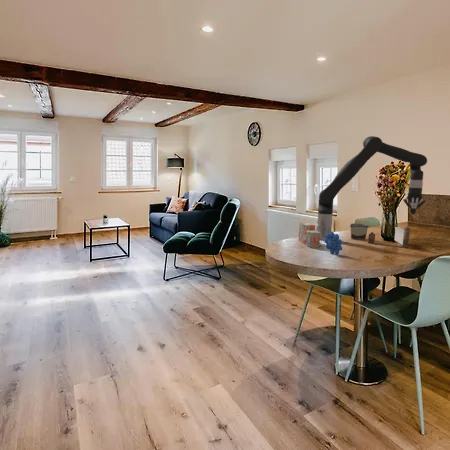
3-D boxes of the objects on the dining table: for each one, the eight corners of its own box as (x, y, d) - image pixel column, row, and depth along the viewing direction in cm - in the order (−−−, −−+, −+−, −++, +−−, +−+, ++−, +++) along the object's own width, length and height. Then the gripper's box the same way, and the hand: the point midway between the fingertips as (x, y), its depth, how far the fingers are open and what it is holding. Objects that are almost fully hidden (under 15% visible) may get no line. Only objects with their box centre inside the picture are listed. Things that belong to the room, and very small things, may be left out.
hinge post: (407, 248, 207) (409, 227, 205) (401, 247, 209) (403, 226, 207) (408, 247, 209) (411, 226, 207) (403, 246, 211) (405, 226, 209)
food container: (365, 237, 239) (366, 223, 237) (367, 239, 233) (369, 225, 231) (346, 237, 240) (347, 223, 238) (348, 238, 234) (350, 224, 232)
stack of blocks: (319, 247, 203) (320, 227, 201) (309, 247, 202) (310, 227, 201) (307, 240, 224) (308, 222, 222) (298, 240, 223) (299, 222, 222)
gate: (405, 245, 211) (407, 231, 209) (402, 245, 211) (403, 231, 210) (397, 240, 228) (398, 227, 227) (393, 239, 229) (395, 226, 227)
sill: (400, 247, 209) (400, 246, 209) (374, 243, 220) (374, 242, 220) (402, 246, 212) (402, 245, 212) (377, 242, 223) (377, 241, 223)
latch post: (372, 243, 219) (373, 232, 218) (367, 243, 221) (368, 232, 220) (374, 243, 221) (375, 232, 220) (370, 242, 223) (371, 231, 222)
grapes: (318, 252, 191) (320, 231, 189) (326, 250, 195) (327, 230, 193) (336, 256, 182) (338, 234, 180) (344, 255, 186) (346, 233, 184)
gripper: (405, 186, 217) (402, 214, 219) (428, 187, 213) (425, 215, 216) (402, 186, 224) (400, 213, 226) (425, 187, 220) (422, 214, 223)
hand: (412, 214), depth 221 cm, fingers closed
